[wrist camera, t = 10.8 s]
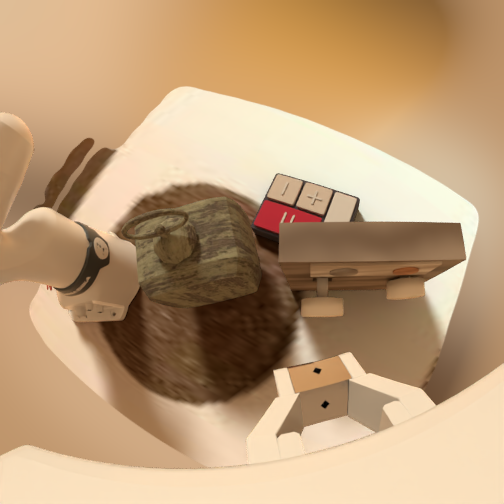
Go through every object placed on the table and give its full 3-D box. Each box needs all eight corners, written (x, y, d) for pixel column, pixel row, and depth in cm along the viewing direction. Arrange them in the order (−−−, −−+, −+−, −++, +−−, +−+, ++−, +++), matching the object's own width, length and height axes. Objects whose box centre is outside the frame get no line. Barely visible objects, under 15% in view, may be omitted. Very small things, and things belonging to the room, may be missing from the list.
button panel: (412, 291, 39) (466, 263, 22) (291, 293, 43) (278, 267, 26) (410, 264, 40) (460, 223, 23) (291, 265, 44) (279, 222, 28)
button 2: (416, 298, 33) (431, 293, 28) (382, 300, 34) (393, 295, 29) (413, 251, 35) (426, 239, 30) (379, 252, 36) (389, 239, 31)
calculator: (275, 170, 46) (361, 195, 41) (279, 182, 50) (358, 207, 45) (248, 225, 44) (339, 258, 39) (254, 235, 48) (337, 266, 43)
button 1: (340, 316, 35) (345, 314, 30) (301, 317, 36) (300, 314, 31) (340, 267, 37) (344, 256, 32) (302, 267, 38) (301, 257, 33)
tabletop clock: (261, 241, 47) (212, 151, 23) (273, 293, 44) (229, 245, 20) (182, 263, 49) (86, 203, 25) (190, 313, 46) (84, 287, 22)
